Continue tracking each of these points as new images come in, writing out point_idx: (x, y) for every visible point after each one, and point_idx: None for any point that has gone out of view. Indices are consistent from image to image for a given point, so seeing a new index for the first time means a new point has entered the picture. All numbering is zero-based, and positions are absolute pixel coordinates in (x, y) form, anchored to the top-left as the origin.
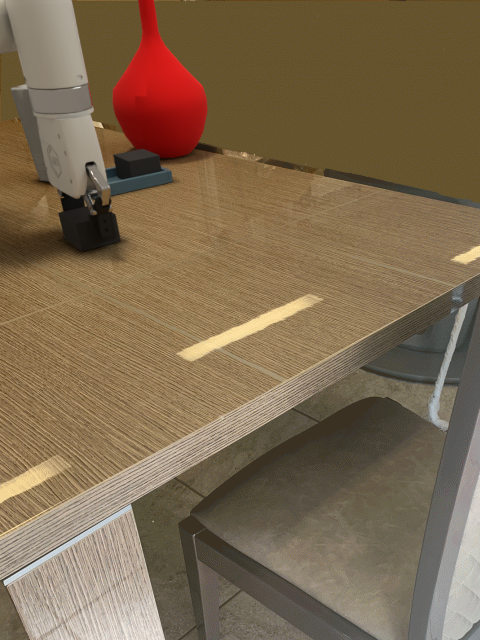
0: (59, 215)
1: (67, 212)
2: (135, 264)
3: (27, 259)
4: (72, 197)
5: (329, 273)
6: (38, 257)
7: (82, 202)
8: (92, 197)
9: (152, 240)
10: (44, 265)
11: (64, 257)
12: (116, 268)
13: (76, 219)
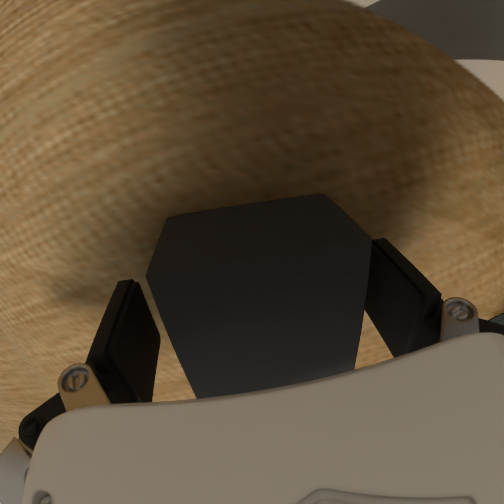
0: (356, 235)
1: (343, 277)
2: (33, 313)
3: (206, 23)
4: (416, 337)
5: (11, 436)
6: (201, 60)
7: (390, 345)
8: (494, 318)
9: (172, 383)
10: (108, 71)
11: (146, 148)
12: (18, 271)
13: (211, 293)
